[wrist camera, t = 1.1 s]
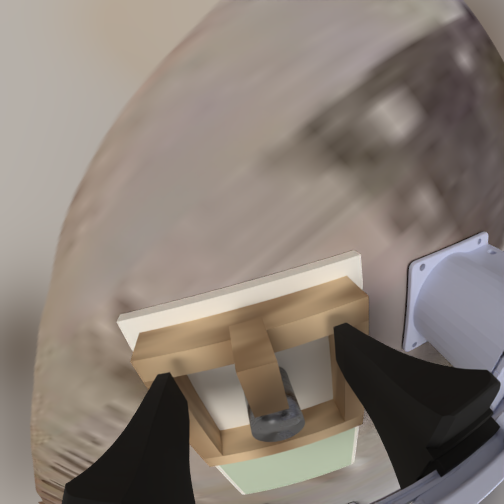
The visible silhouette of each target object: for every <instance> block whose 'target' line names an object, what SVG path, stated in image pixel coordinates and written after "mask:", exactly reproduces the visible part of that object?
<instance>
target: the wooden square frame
mask: <svg viewBox="0 0 504 504" xmlns="http://www.w3.org/2000/svg"><path fill="white" fill-rule="evenodd" d="M343 323H348V324H350V325H352V326H353V327H355V328H357V329H358V330H360V331H361V332H363V333H365V334H367V335H368V336H369V296H368V295H367V294H366V293H365V292H364V291H363V290H362V289H361V288H359V287H358V286H357V285H356V284H355V283H354V282H353V281H352V280H351V279H350V278H349V277H348V276H344V277H341V278H338V279H335V280H332V281H329V282H326V283H323V284H319V285H316V286H313V287H310V288H307V289H303V290H300V291H297V292H294V293H290V294H287V295H284V296H280V297H277V298H273V299H270V300H267V301H263V302H260V303H256V304H253V305H249V306H245V307H242V308H238V309H234V310H231V311H227V312H223V313H219V314H216V315H212V316H208V317H204V318H200V319H196V320H192V321H188V322H184V323H180V324H176V325H172V326H167V327H163V328H159V329H154V330H150V331H145V332H141V333H139V335H138V338H137V341H136V345H135V348H134V351H133V355H132V358H131V361H130V362H131V363H132V365H133V366H134V368H135V370H136V371H137V373H138V374H139V376H140V377H141V379H142V381H143V382H144V384H145V385H146V387H147V388H148V390H149V388H150V387H151V385H152V383H153V381H154V379H155V378H156V376H157V374H162V373H168V372H170V373H171V375H172V376H173V378H174V380H175V381H176V383H177V385H178V386H179V388H180V390H181V391H182V393H183V395H184V396H185V398H186V400H187V401H188V410H189V419H190V439H189V444H190V445H191V446H192V447H193V448H194V450H195V451H196V452H197V453H198V454H199V455H200V456H201V458H202V459H203V460H204V461H205V462H206V463H207V464H208V465H209V466H210V467H212V466H219V465H225V464H231V463H237V462H242V461H247V460H252V459H256V458H261V457H265V456H269V455H273V454H277V453H281V452H285V451H288V450H292V449H295V448H298V447H302V446H305V445H308V444H311V443H314V442H317V441H320V440H323V439H326V438H329V437H331V436H334V435H337V434H339V433H342V432H344V431H347V430H349V429H352V428H354V427H357V426H359V425H361V424H363V416H364V407H363V405H362V404H361V402H360V401H359V399H358V398H357V396H356V395H355V393H354V392H353V390H352V389H351V387H350V386H349V384H348V383H347V381H346V380H345V378H344V376H343V374H342V372H341V370H340V368H339V366H338V364H337V362H336V356H335V341H334V329H333V327H335V326H338V325H340V324H343ZM325 336H328V337H329V348H330V360H331V373H332V388H333V399H332V400H329V401H326V402H323V403H320V404H318V405H315V406H312V407H309V408H306V409H303V410H301V411H302V414H303V417H304V419H305V425H304V427H303V429H302V430H301V431H300V432H299V433H297V434H296V435H294V436H292V437H290V438H288V439H285V440H282V441H277V442H263V441H259V440H257V439H255V438H254V437H253V436H252V432H251V427H250V424H249V425H244V426H240V427H235V428H230V429H225V430H219V428H218V427H217V425H216V424H215V422H214V420H213V419H212V417H211V416H210V414H209V412H208V411H207V409H206V407H205V406H204V404H203V402H202V401H201V399H200V397H199V395H198V394H197V392H196V390H195V388H194V387H193V385H192V383H191V381H190V379H189V378H188V376H187V374H192V373H197V372H201V371H206V370H210V369H215V368H219V367H223V366H227V365H232V364H235V370H236V374H237V376H238V379H239V381H240V384H241V386H242V389H243V391H244V394H245V396H246V398H247V401H248V403H249V405H250V408H251V410H252V412H253V415H254V417H255V418H256V417H260V416H264V415H268V414H271V413H275V412H278V411H282V410H285V409H289V405H288V401H287V397H286V394H285V390H284V386H283V382H282V378H281V374H280V370H279V366H278V362H277V359H276V356H275V354H274V353H276V352H279V351H282V350H286V349H289V348H292V347H295V346H298V345H302V344H305V343H308V342H311V341H314V340H317V339H320V338H322V337H325Z"/></svg>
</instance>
